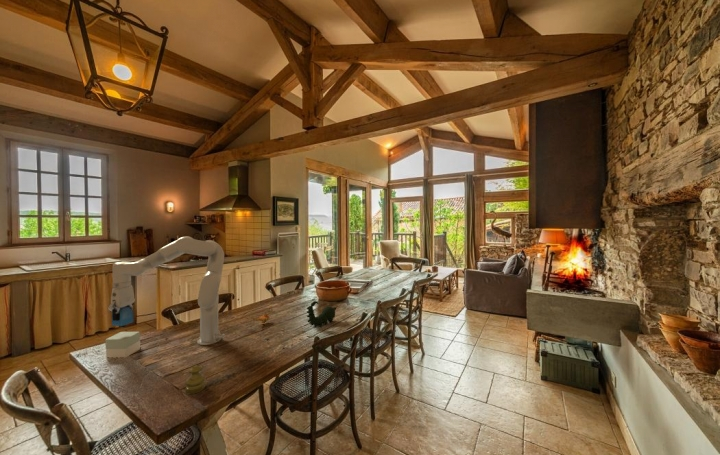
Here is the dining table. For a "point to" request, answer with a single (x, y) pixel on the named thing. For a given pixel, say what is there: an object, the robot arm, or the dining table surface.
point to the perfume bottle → (124, 316)
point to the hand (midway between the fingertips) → (122, 317)
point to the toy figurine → (326, 315)
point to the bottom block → (123, 351)
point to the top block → (122, 340)
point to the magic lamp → (263, 317)
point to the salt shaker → (195, 380)
